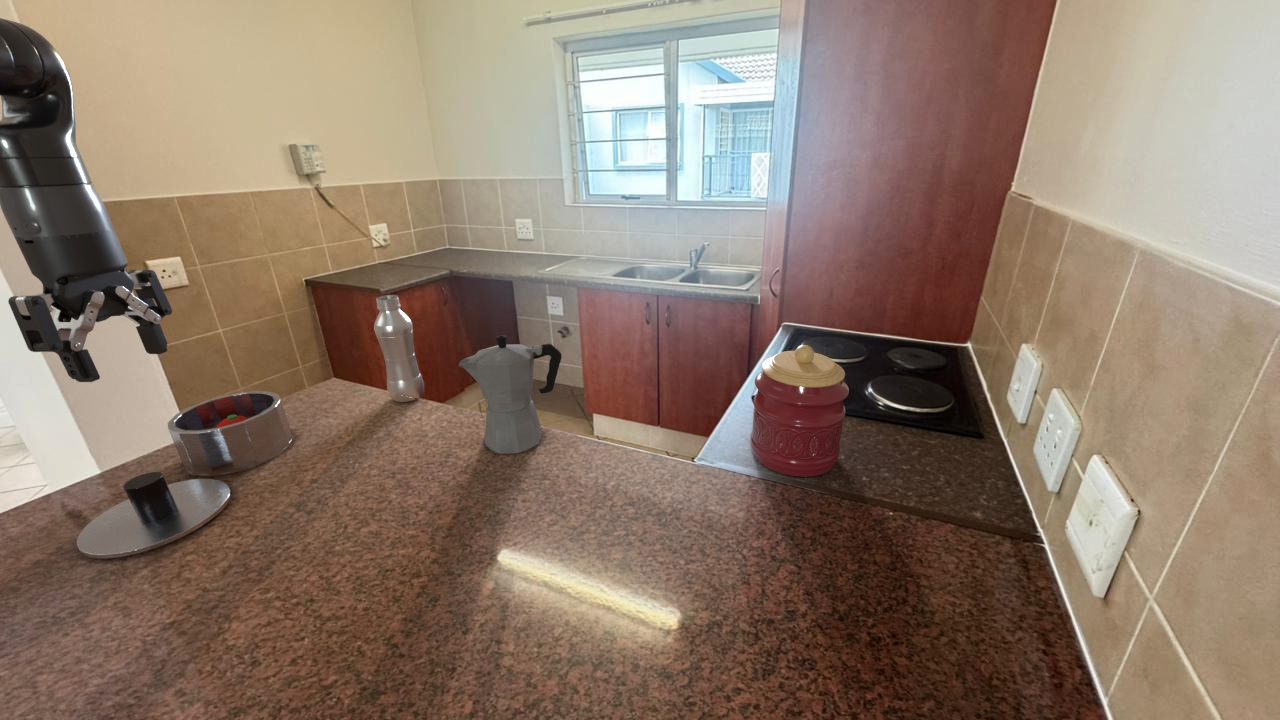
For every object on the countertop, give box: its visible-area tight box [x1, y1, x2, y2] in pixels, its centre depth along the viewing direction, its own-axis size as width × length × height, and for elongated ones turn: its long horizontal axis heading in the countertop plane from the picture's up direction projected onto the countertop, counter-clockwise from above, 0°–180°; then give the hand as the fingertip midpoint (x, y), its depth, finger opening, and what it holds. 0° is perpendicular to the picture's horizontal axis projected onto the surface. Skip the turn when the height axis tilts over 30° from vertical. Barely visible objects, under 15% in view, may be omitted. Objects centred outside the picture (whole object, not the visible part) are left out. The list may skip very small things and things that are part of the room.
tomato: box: [216, 415, 249, 428], centre depth 78 cm, size 6×6×6 cm
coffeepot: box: [458, 334, 562, 455], centre depth 78 cm, size 15×9×18 cm, turn 112°
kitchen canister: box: [749, 344, 850, 478], centre depth 73 cm, size 13×13×18 cm
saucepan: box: [167, 390, 294, 478], centre depth 78 cm, size 14×14×8 cm
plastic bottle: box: [373, 294, 425, 403], centre depth 92 cm, size 6×7×20 cm
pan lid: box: [76, 471, 232, 560], centre depth 63 cm, size 15×15×6 cm
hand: (125, 366), depth 61 cm, fingers open, 8 cm apart
